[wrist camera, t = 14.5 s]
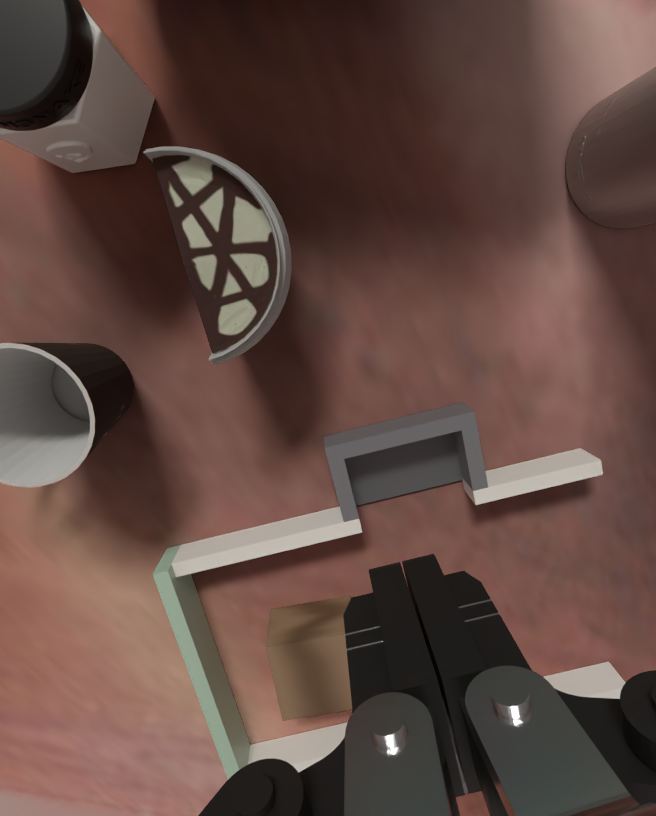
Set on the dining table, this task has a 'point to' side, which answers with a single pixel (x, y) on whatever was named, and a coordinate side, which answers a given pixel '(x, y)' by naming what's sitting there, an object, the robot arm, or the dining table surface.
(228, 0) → the dining table surface
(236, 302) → the food container
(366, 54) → the dining table surface
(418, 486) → the track
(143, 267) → the dining table surface
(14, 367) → the coffee mug
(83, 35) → the jar
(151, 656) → the dining table surface
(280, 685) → the walnut block
